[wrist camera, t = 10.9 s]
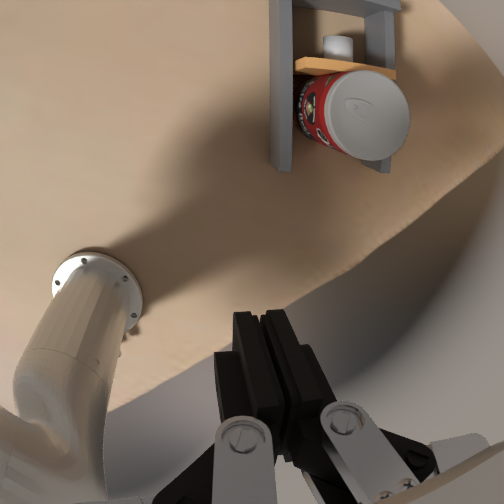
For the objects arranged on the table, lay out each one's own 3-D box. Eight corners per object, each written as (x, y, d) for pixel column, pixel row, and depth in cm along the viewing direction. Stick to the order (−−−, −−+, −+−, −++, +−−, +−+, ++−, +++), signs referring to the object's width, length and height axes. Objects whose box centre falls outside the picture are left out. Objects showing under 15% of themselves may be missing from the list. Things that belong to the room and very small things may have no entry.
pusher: (362, 81, 31) (396, 80, 25) (284, 73, 30) (305, 67, 23) (362, 49, 29) (395, 42, 23) (284, 39, 28) (305, 25, 22)
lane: (370, 164, 36) (396, 176, 30) (269, 163, 34) (283, 175, 29) (372, 10, 27) (400, 0, 21) (268, -6, 25) (282, -25, 20)
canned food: (290, 72, 30) (329, 61, 20) (357, 82, 31) (414, 80, 21) (286, 140, 33) (323, 158, 23) (352, 145, 34) (406, 165, 25)
